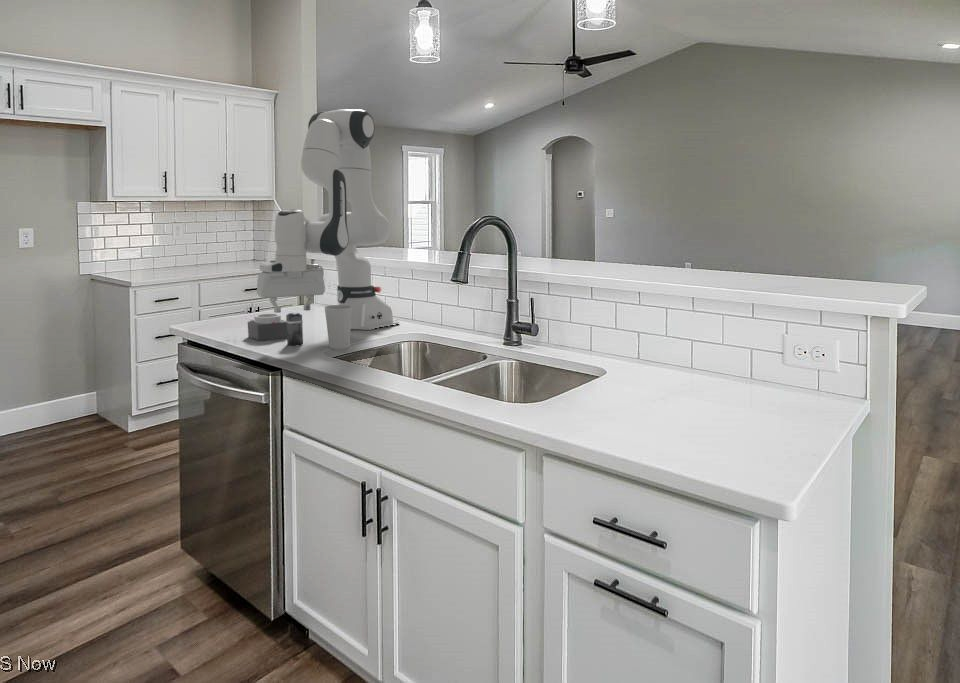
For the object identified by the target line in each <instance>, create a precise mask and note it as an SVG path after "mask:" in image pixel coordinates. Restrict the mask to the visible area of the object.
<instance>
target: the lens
mask: <svg viewBox="0 0 960 683" xmlns="http://www.w3.org/2000/svg"><path fill="white" fill-rule="evenodd" d="M285 317H286V318H285V321H286V324H287V338H286V342H287V344H286V345H287V346H290V347H297V346H296V345H299V346H302V344H303V345H304V332H303V323H304V322H303V314H301V313H300V312H289V313H287V314H286V315H285Z"/></svg>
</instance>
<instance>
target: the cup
mask: <svg viewBox="0 0 960 683" xmlns="http://www.w3.org/2000/svg"><path fill="white" fill-rule="evenodd" d="M324 314H325V320H326V322H325V323H326V330H327V339H328V348H329V347H330V348H329V349H332V348H335V349H334V350H338V349H339V350H343V349H344V350H345V349H349V348H350V347H351V330H352V329H351V317H352V306H348V305H338V304H335V305H331V304H330V305H326V306H324Z"/></svg>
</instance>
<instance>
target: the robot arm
mask: <svg viewBox="0 0 960 683" xmlns="http://www.w3.org/2000/svg"><path fill="white" fill-rule="evenodd" d="M374 134H375V122H374V119H373V117H372V115H371V114H370V113H369V111H367V110H363V109H360V108H359V109H358V108H356V109H348V108H345V109H344V108H343V109H341V108H339V109H336V110H335V109H334V110H329V111H320V112H316V113H314V114H313V115H311V117H310V118H309V120H308V124H307V133H306V136H305V138H304V139H305V140H304V143H303V149H302V155H301V160H300V163H301V164H300V166H301V170H302V173H303V174H304V176H305V177H306V178H307V179H308V180H310V182H312V183H314V184H317V185H318V186H320V187H322V188H324V189H326V191H327V194H328V213H325V214H322V215H321V216H320V218H319V219H318V221H313V220H310V219H308V218H306V216H305V214H304V211H303V210H301V209H298V208H297V209H296V208H294V209H293V208H291V209H284V210H283V209H282V210H280V211H279V212H278V213H277V214H276V215H275V216H276V217H275V224H274V241H275V244H276V250H275V258H273V259H272V260H271V259H270V260H269V261H266V262H262V263H260V264H259V268H258V269H259V271H260V273H259V274H258V277H257V281H256V282H257V285H256V294H257V295H258V296H259V298H261V299H269V302H270V303H271V305H272V307H273V312H274V314H281V312H282V307H281V306H279V305H278V303H277V301H278V298H289V297H290V298H291V297H305V296H306V299H307V301H306V303H305V304H303V311H307V312H309V311H311V308H312V307H311V305H312V303H313V302H314V299H315V296H322V295H324V294H325V291H326V287H325V279H324V277H325V276H324V275H325V274H324V272H325V271H324V268H323V267H322V266H321V265H320V264H307V262H308V261H307V253H308V254H321V255H322V254H323V255H327V256H334V258H335V262H336V265H337V266H336V267H337V278H338V279H337V281H338V285H337V288H336V289H337V291H336V292H337V301H338V304H337V305H348V306H352V317H351V330H365V331H366V330H367V331H369V330H371V331H372V330H375V328H377V329H380V328H379V327H383V328H385V327H384V326H388V327H390V326H389V325H393V324H398V323H399V324H400V320H398V319H395V318H394V315H393V311H392V307H391V306H390V305H389V304H387V303H386V302H384V301H383V299H381V298H380V297H378V296H377V294H376V293H381V292H382V287H381V286H377V285H376V286H374V285H372V270H371V268H372V267H371V263H370V261H369V260H368V259H367V258H365V257H364V256H362V255H361V254H360V253H359V251H358V250H357V246H376V245H381V244H384V243H386V241H387V240H388V238H389V236H390V234H391V224H390V222H389V220H388V219H387V217H386V216H385V215H384V214H383V213H382V212H381V211H380V210H379V209H378V207H377V206H376V203H375V201H374V198H373V193H372V159H371V158H372V157H371V149H370V145H369V144H370V143H371V141H372V140H373V137H374ZM347 202H348V203H349V204H350V207H351V211H347Z"/></svg>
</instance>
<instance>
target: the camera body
mask: <svg viewBox="0 0 960 683" xmlns="http://www.w3.org/2000/svg"><path fill="white" fill-rule="evenodd" d="M253 318H254V319H249V321H247V332H248V333H247V334H248V338H249V337H250V339H252V338H253V339H252V340H254V339H255V341H258V342H263V341H271V340H272V341H273V340H279V339H287V324H286V320H284V319H282V315H281V313H259V314H255V315H254V317H253Z"/></svg>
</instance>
